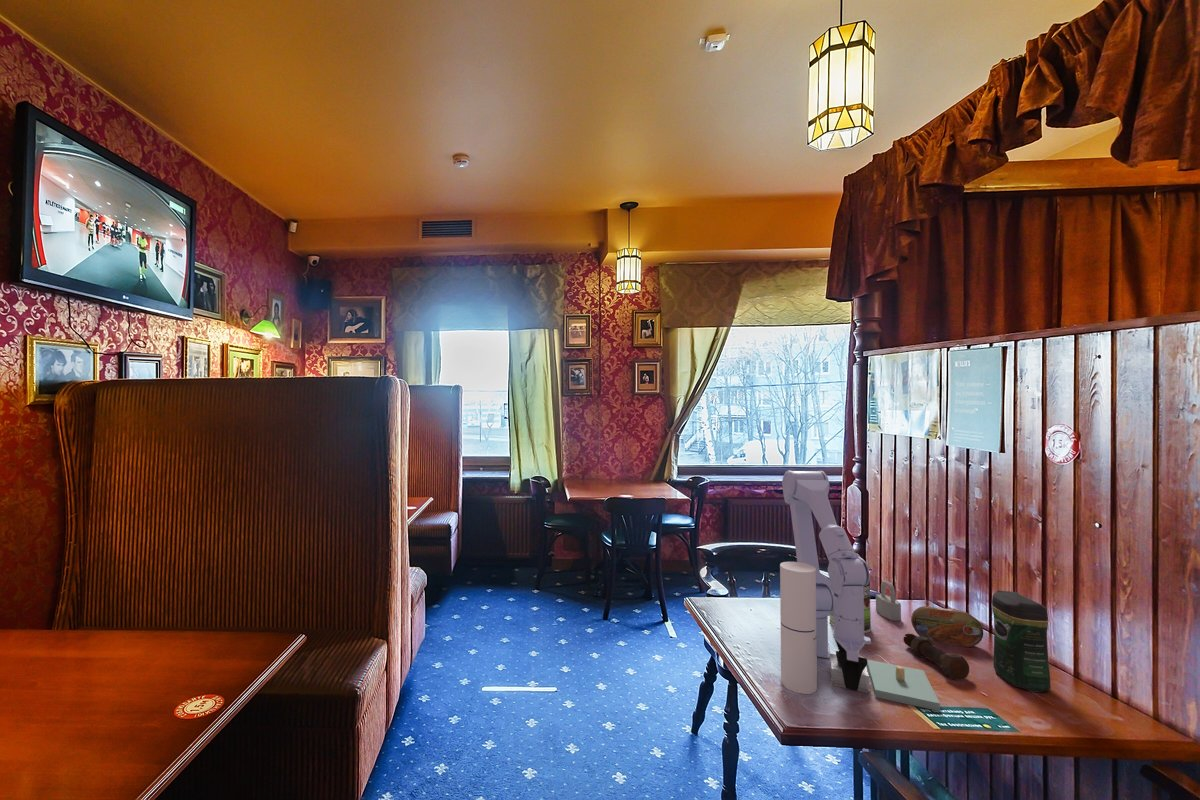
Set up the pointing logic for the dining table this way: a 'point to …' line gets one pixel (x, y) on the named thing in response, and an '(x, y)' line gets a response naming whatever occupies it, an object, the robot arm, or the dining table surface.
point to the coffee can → (866, 610)
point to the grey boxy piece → (838, 675)
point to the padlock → (888, 603)
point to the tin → (947, 626)
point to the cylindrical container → (798, 627)
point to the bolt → (938, 657)
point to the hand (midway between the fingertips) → (849, 679)
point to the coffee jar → (1021, 641)
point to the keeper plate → (902, 685)
